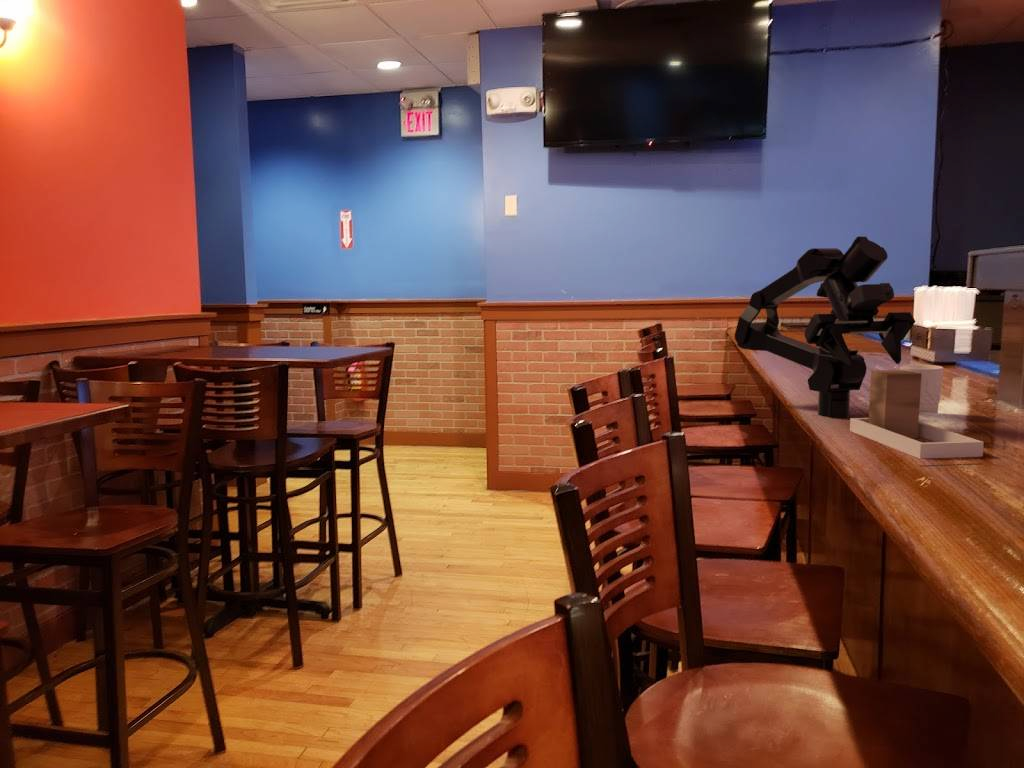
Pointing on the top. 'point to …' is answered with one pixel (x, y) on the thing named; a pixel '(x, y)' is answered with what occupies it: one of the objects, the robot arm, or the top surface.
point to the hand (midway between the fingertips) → (875, 363)
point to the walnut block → (895, 401)
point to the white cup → (928, 385)
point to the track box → (942, 446)
